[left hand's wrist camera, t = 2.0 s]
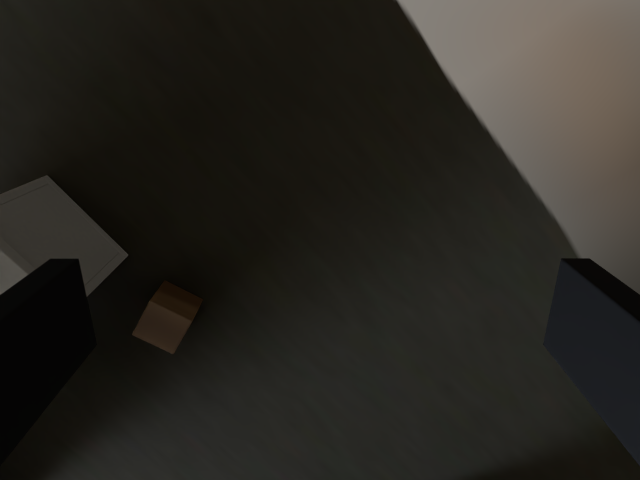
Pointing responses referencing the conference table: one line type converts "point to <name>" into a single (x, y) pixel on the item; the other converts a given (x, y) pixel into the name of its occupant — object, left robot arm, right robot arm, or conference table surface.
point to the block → (167, 317)
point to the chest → (56, 230)
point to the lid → (12, 266)
